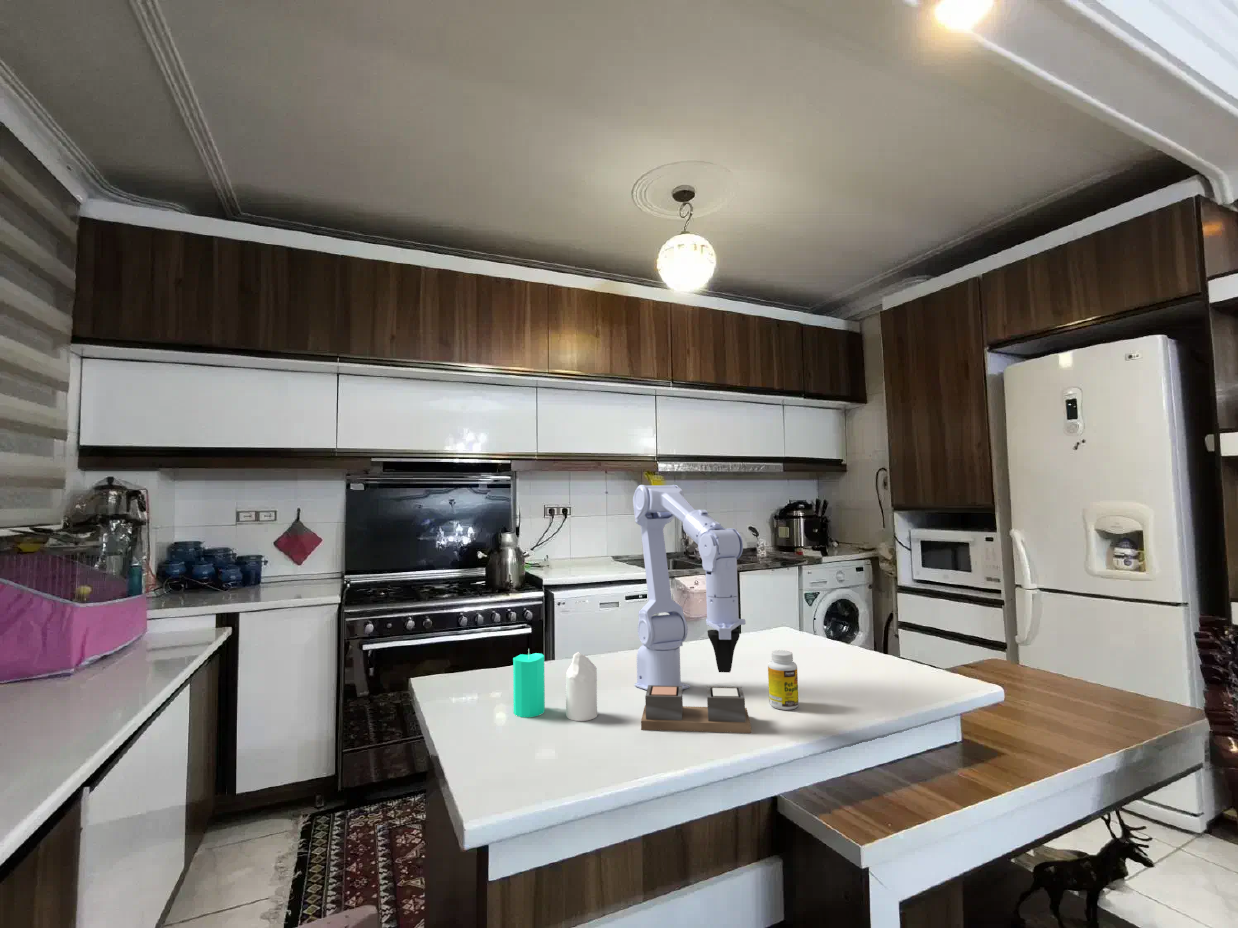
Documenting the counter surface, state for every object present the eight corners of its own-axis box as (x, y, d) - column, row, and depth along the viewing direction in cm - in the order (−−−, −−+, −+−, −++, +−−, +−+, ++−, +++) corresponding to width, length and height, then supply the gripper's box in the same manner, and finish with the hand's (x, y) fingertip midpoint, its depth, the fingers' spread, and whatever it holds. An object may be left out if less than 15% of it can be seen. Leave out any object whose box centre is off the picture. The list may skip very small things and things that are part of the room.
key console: (645, 713, 108) (644, 683, 109) (746, 716, 106) (745, 685, 106) (641, 729, 100) (640, 697, 101) (751, 732, 98) (749, 700, 98)
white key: (712, 701, 105) (712, 687, 105) (737, 702, 105) (736, 688, 105) (713, 710, 101) (713, 695, 101) (738, 710, 100) (738, 696, 100)
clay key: (653, 700, 107) (653, 686, 107) (677, 700, 106) (676, 686, 106) (651, 708, 102) (651, 694, 102) (676, 708, 102) (675, 694, 102)
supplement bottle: (785, 713, 107) (783, 657, 108) (763, 704, 112) (761, 651, 113) (805, 706, 110) (802, 652, 111) (782, 699, 115) (780, 647, 116)
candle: (550, 707, 112) (549, 646, 113) (535, 718, 107) (535, 653, 108) (523, 705, 114) (522, 644, 115) (507, 715, 109) (507, 651, 110)
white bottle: (598, 648, 111) (593, 655, 105) (599, 711, 110) (594, 722, 104) (568, 647, 112) (562, 654, 106) (569, 710, 111) (562, 721, 105)
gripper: (747, 601, 97) (750, 684, 96) (741, 589, 111) (743, 660, 110) (705, 601, 97) (708, 683, 96) (704, 589, 112) (706, 660, 111)
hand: (724, 671), depth 103 cm, fingers closed
